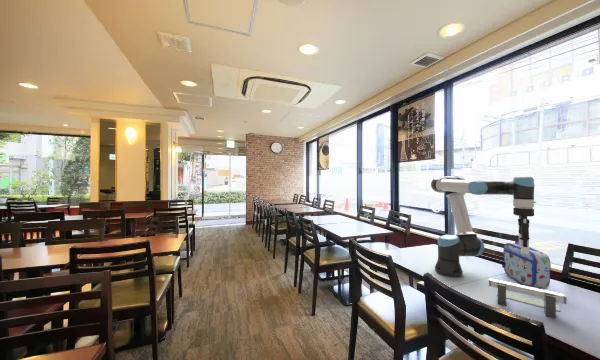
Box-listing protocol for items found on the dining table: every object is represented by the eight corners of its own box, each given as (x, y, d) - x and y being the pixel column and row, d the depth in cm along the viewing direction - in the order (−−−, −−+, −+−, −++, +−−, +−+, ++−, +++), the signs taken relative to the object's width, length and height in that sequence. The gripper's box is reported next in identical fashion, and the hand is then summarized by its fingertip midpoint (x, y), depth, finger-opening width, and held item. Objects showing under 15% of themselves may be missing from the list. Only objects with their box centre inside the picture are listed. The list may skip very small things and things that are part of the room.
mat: (496, 296, 120) (496, 295, 120) (496, 291, 125) (496, 290, 125) (560, 311, 106) (560, 310, 106) (557, 305, 111) (557, 304, 111)
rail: (489, 286, 116) (489, 280, 116) (489, 284, 118) (489, 278, 118) (566, 304, 99) (566, 297, 99) (565, 301, 101) (565, 294, 101)
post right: (545, 316, 102) (545, 294, 102) (543, 310, 107) (543, 289, 107) (555, 319, 100) (555, 297, 100) (553, 312, 105) (553, 291, 105)
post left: (497, 304, 112) (497, 284, 112) (497, 298, 117) (497, 279, 117) (506, 306, 110) (506, 286, 110) (505, 300, 115) (505, 281, 115)
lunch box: (498, 271, 152) (498, 238, 152) (517, 273, 149) (517, 238, 149) (531, 291, 125) (531, 250, 125) (554, 293, 123) (554, 251, 123)
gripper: (537, 210, 104) (537, 258, 104) (531, 206, 123) (531, 246, 123) (514, 209, 109) (514, 254, 109) (512, 205, 128) (512, 243, 128)
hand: (523, 250), depth 116 cm, fingers open, 13 cm apart
